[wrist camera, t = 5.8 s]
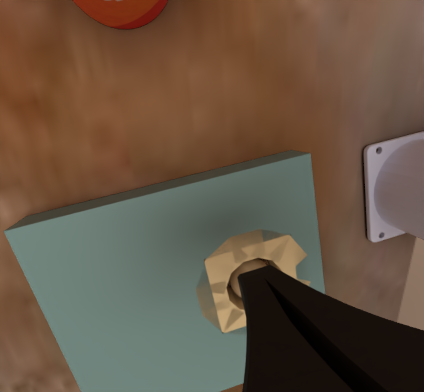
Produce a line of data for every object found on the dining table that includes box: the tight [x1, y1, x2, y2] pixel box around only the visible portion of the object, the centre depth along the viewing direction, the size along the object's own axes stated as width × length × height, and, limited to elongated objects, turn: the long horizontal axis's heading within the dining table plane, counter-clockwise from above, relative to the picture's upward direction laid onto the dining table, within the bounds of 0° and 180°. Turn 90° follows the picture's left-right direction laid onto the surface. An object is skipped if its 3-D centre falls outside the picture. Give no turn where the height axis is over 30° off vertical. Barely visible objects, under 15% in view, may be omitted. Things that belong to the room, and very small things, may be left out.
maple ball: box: [229, 258, 267, 298], centre depth 19 cm, size 3×3×3 cm
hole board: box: [4, 150, 325, 392], centre depth 19 cm, size 18×16×2 cm
